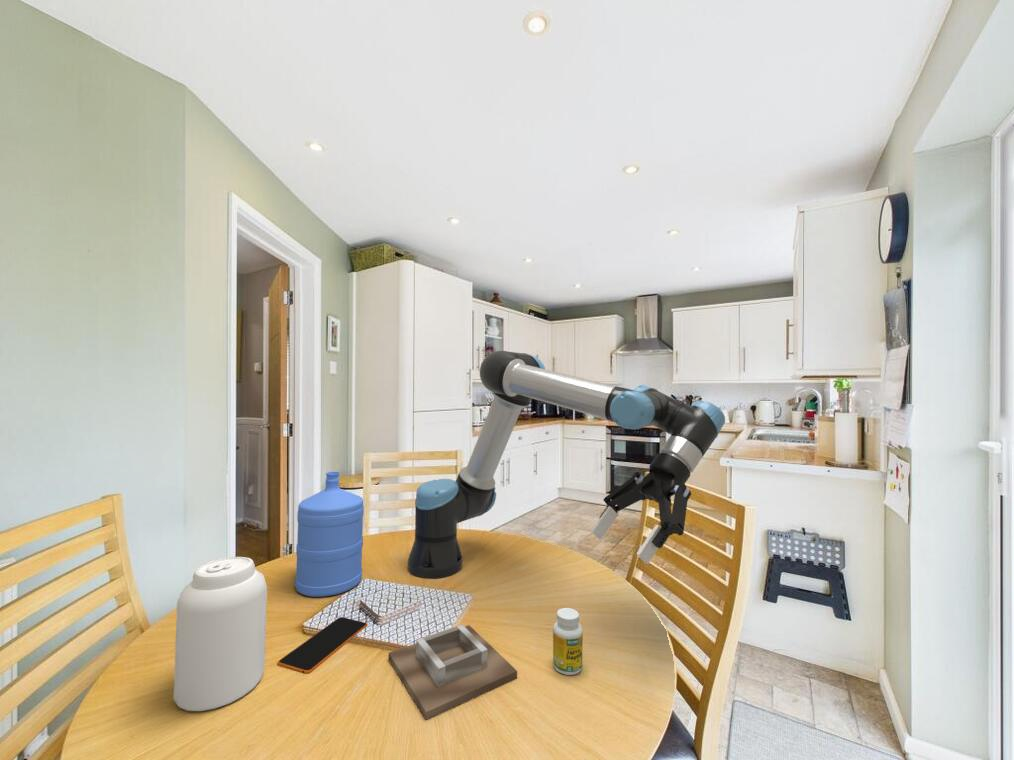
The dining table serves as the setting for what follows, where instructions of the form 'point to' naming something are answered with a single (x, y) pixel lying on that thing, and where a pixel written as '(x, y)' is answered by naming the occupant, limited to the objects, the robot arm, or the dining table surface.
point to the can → (220, 634)
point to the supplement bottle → (567, 642)
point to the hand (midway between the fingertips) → (616, 546)
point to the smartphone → (322, 645)
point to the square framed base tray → (450, 669)
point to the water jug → (329, 541)
